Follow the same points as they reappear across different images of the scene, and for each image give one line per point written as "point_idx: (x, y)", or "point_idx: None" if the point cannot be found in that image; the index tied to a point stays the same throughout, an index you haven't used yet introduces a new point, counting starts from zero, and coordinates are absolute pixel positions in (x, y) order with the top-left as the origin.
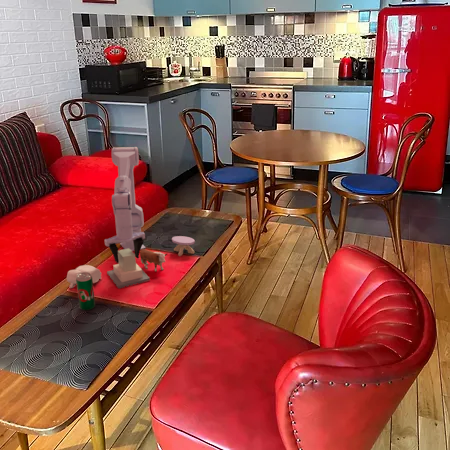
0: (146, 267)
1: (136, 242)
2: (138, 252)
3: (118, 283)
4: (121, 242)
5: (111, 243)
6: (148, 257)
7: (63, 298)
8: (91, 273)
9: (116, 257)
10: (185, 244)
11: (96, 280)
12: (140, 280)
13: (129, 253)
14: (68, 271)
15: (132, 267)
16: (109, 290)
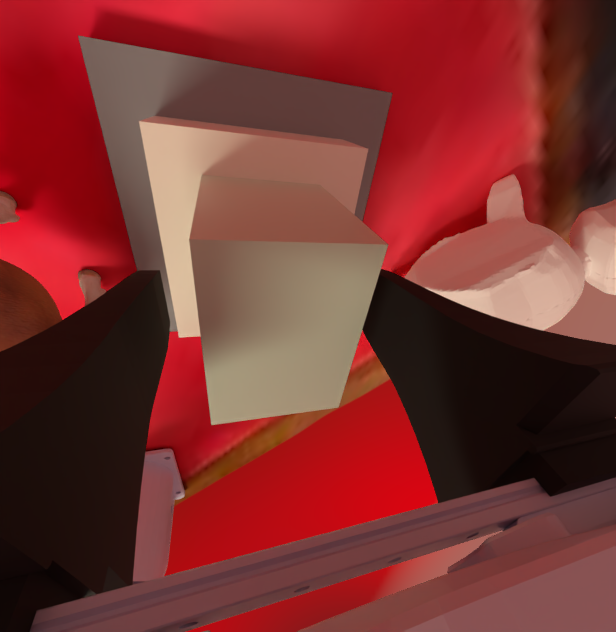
0: (89, 278)
1: (56, 499)
2: (108, 302)
3: (369, 136)
4: (431, 506)
5: (602, 488)
6: (12, 304)
7: (606, 184)
8: (529, 253)
9: (427, 292)
10: None
11: (443, 246)
12: (192, 57)
13: (260, 312)
14: None
15: (242, 186)
16: (436, 110)
